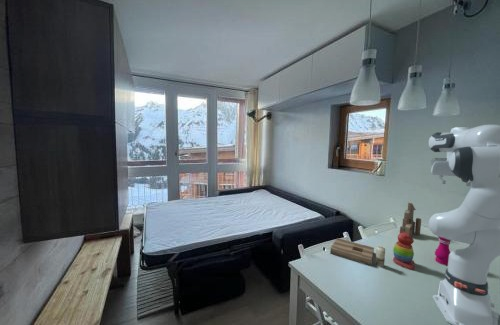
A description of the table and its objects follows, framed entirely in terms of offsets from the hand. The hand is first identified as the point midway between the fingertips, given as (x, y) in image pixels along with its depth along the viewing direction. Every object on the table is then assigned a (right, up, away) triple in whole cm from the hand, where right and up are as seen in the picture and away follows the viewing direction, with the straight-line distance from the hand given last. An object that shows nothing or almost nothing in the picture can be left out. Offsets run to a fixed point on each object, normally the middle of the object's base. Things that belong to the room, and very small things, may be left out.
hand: (455, 184), depth 106 cm
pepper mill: (+6, -48, +14) cm, 50 cm away
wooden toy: (+17, -45, +52) cm, 71 cm away
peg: (-34, -47, +9) cm, 58 cm away
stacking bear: (-19, -47, +12) cm, 52 cm away
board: (-43, -46, +22) cm, 67 cm away
